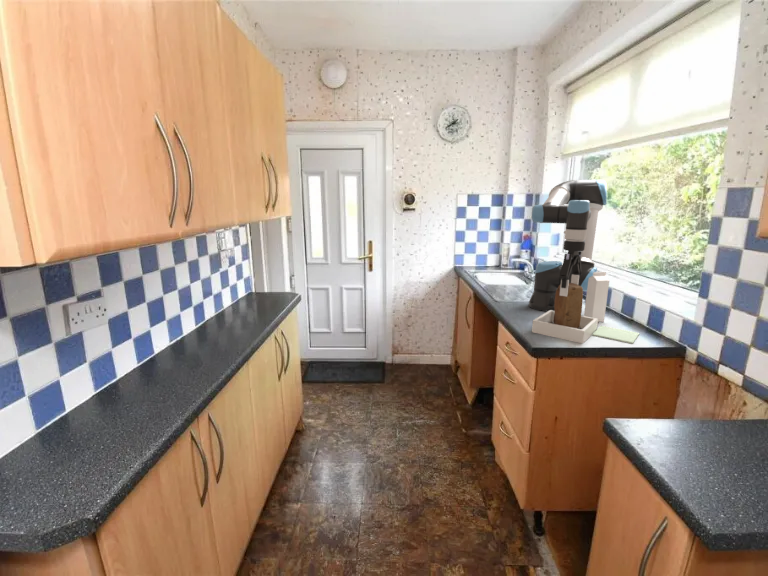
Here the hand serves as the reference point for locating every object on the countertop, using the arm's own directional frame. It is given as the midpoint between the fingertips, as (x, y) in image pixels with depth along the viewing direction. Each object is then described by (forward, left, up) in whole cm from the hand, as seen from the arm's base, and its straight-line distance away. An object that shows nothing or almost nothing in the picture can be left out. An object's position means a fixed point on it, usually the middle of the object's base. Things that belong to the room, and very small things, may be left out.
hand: (568, 293), depth 157 cm
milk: (-25, +5, -17) cm, 31 cm away
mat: (-9, +17, -16) cm, 25 cm away
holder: (0, 0, -16) cm, 16 cm away
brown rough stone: (0, 0, -17) cm, 17 cm away
